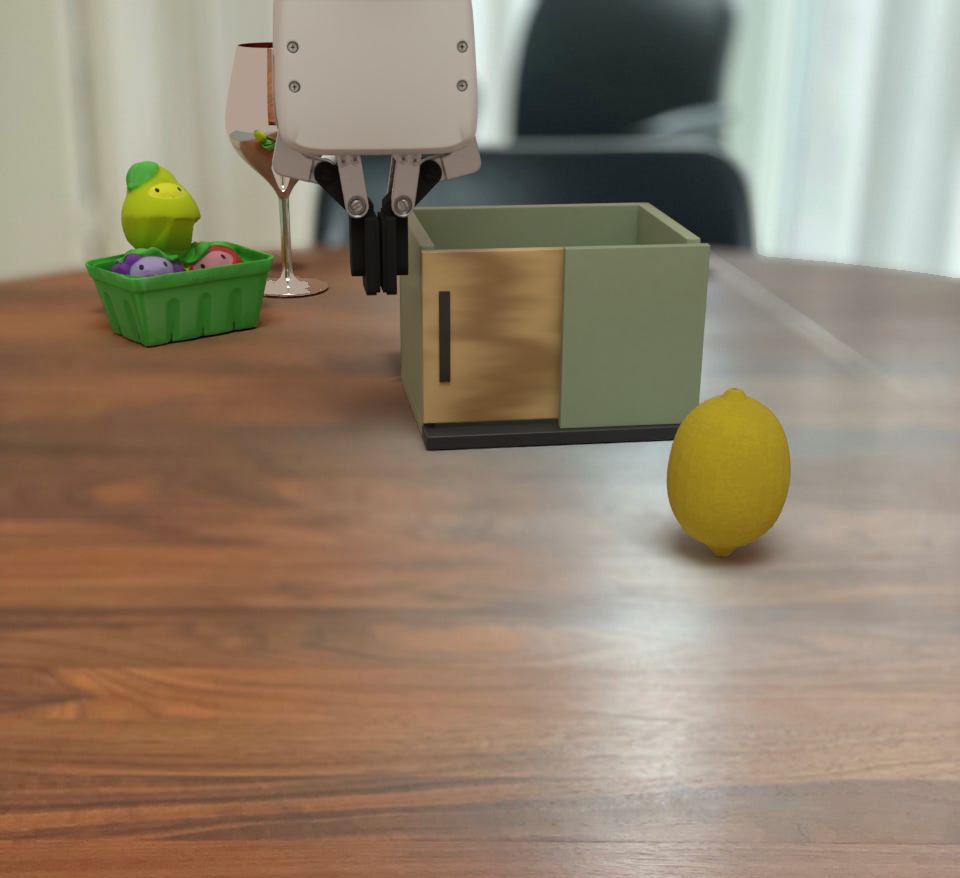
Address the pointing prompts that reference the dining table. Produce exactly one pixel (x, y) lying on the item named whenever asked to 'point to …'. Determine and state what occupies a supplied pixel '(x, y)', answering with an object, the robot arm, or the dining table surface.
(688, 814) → the dining table surface
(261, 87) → the wineglass
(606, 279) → the cupboard
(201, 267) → the fruit basket
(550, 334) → the closet door
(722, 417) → the lemon
